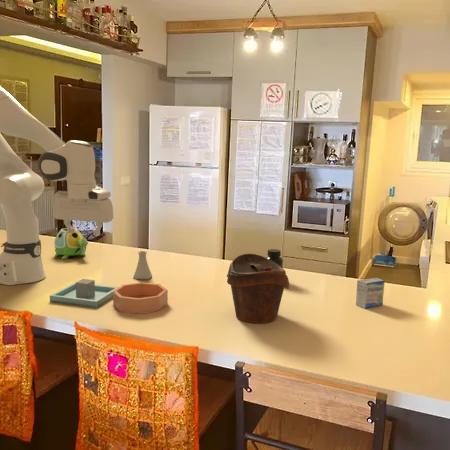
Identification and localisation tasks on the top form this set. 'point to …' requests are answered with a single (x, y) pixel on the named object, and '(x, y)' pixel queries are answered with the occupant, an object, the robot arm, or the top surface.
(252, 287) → the brown lidded bucket
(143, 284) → the terracotta bowl
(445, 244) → the top surface
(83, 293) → the grey square block
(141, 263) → the flask
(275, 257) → the supplement bottle
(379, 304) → the medicine box
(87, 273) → the top surface
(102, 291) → the parts tray
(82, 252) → the turtle holder
